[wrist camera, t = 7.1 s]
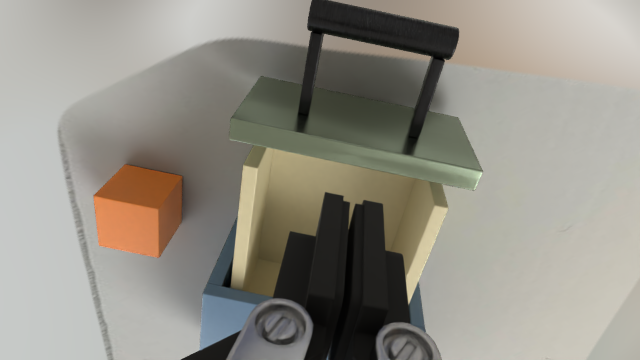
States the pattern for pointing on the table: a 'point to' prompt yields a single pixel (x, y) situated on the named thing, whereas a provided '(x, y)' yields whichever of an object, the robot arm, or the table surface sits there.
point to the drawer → (347, 150)
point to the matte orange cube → (139, 210)
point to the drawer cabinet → (248, 300)
